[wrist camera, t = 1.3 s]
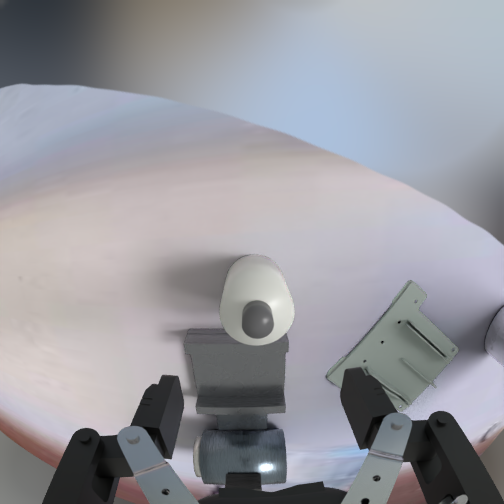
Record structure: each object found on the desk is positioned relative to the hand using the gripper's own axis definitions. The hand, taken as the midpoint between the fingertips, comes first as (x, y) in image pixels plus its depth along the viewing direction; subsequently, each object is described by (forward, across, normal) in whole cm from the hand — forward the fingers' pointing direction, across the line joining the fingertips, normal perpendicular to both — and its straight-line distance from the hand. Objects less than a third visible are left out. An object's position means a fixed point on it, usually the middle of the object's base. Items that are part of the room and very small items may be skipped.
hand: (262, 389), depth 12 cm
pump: (+16, 0, 0) cm, 16 cm away
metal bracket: (+16, -18, +10) cm, 26 cm away
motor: (+16, +2, +16) cm, 23 cm away
